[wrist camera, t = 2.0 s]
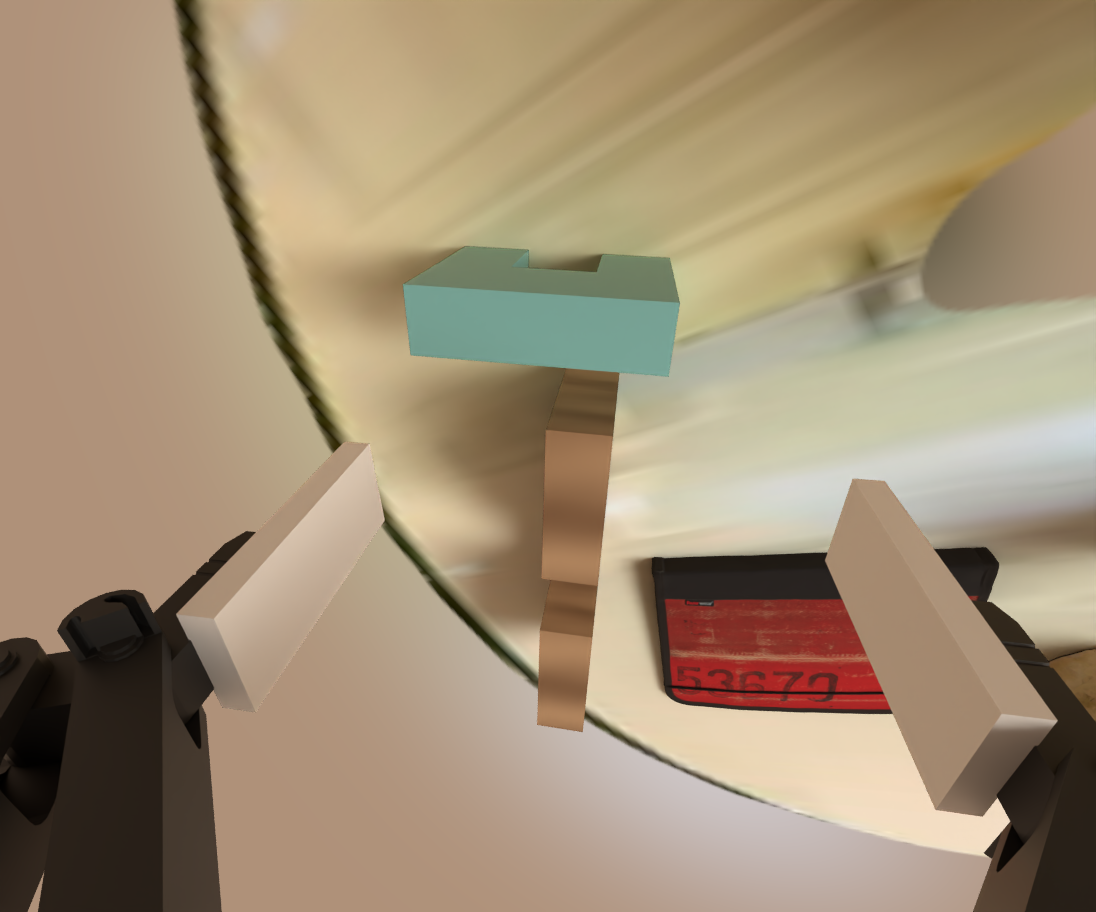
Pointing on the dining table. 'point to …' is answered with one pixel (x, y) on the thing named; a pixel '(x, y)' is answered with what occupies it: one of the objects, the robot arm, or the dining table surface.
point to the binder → (775, 631)
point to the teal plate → (545, 312)
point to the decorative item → (1079, 677)
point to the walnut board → (573, 539)
